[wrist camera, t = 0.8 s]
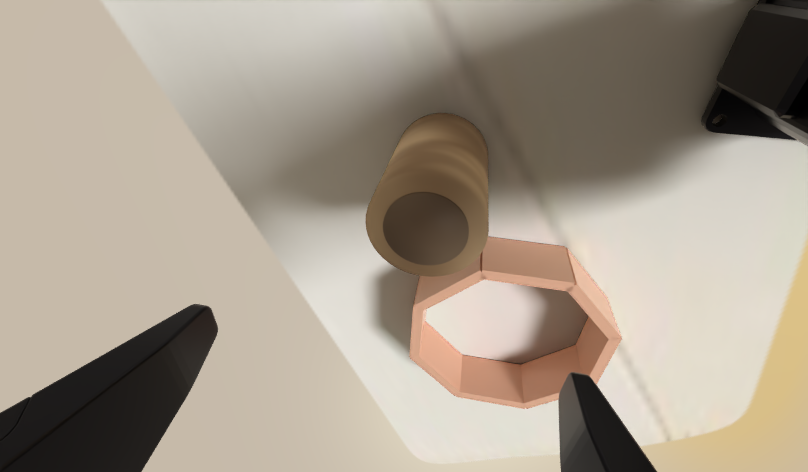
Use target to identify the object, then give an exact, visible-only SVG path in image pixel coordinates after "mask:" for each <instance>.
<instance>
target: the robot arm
mask: <svg viewBox="0 0 808 472" xmlns="http://www.w3.org/2000/svg"><path fill="white" fill-rule="evenodd" d="M717 83H718V86H717V88H716V90H715V92H714V94H713V96H712V98H711V100H710V102H709V104H708V106H707V108H706V110H705V112H704V114H703V116H702V120H701V122H702V125H703V126H704V127H705V128H706V129H707V130H708V131H711V132H715V133H726V134H737V135H748V136H759V137H769V138H780V139H791V140H798V141H800V142H802V143H803V144H805V145H807V146H808V0H759V2H758V4H757V5H756V6H755V7H754V8H753V9H751V10H750V11H749V13H748V15H747V17H746V19H745V21H744V23H743V25H742V27H741V30H740V32H739V34H738V36H737V38H736V40H735V42H734V44H733V46H732V48H731V50H730V52H729V54H728V56H727V58H726V60H725V62H724V65H723V67H722V69H721V71H720V73H719V75H718V77H717ZM718 115H722V119H721V120H720V121H719V122H717V123H712V122H713V119H714V118H715V117H716V116H718ZM217 332H218V327H217V323H216V321H215V318H214V315H213V313H212V310H211V308H210V307H208V306H204V305H199V304H193V305H191V306H189V307H187V308H185V309H183V310H181V311H180V312H178V313H176V314H174V315H173V316H171V317H169V318H168V319H166V320H164V321H162V322H161V323H159V324H157V325H155V326H153V327H151V328H150V329H148V330H146V331H144V332H143V333H141V334H139V335H138V336H136V337H134V338H132V339H130V340H129V341H127V342H125V343H123V344H121V345H120V346H118V347H117V348H115V349H113V350H111V351H109V352H108V353H106V354H104V355H102V356H101V357H99V358H97V359H95V360H93V361H92V362H90V363H88V364H86V365H84V366H83V367H81V368H79V369H77V370H76V371H74V372H72V373H70V374H68V375H67V376H65V377H63V378H61V379H60V380H58V381H56V382H54V383H53V384H51V385H49V386H47V387H46V388H44V389H42V390H40V391H39V392H37V393H35V394H33V395H32V397H28V398H26V399H24V400H22V401H21V402H19V403H17V404H15V405H14V406H12V407H10V408H8V409H6V410H5V411H3V412H1V413H0V472H141V471H142V470H143V468H144V466H145V464H146V463H147V462H148V460H149V458H150V456H151V455H152V453H153V452H154V450H155V448H156V447H157V445H158V443H159V442H160V440H161V438H162V437H163V435H164V433H165V432H166V430H167V428H168V427H169V425H170V423H171V422H172V420H173V418H174V417H175V415H176V414H177V412H178V410H179V408H180V407H181V405H182V404H183V402H184V400H185V399H186V397H187V395H188V393H189V392H190V390H191V388H192V386H193V384H194V382H195V380H196V378H197V376H198V374H199V372H200V369H201V367H202V365H203V363H204V361H205V359H206V357H207V355H208V353H209V351H210V348H211V347H212V344H213V342H214V340H215V338H216V336H217ZM559 434H560V463H561V472H657V471H656V470H655V468H654V467H653V465H652V464H651V462H650V461H649V459H648V458H647V457H646V455H645V454H644V452H643V451H642V450H641V448H640V447H639V445H638V444H637V442H636V441H635V439H634V438H633V437H632V435H631V434H630V432H629V431H628V429H627V428H626V427H625V425H624V424H623V422H622V421H621V419H620V418H619V417H618V415H617V414H616V412H615V411H614V409H613V408H612V407H611V405H610V404H609V402H608V401H607V399H606V398H605V397H604V395H603V394H602V392H601V391H600V389H599V388H598V387H597V385H596V384H595V382H594V381H593V379H592V378H591V377H590V376H588V375H586V374H582V373H576V372H571V373H569V374H568V376H567V378H566V380H565V382H564V384H563V386H562V388H561V390H560V393H559Z"/></svg>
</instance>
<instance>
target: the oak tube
mask: <svg viewBox="0 0 808 472" xmlns="http://www.w3.org/2000/svg"><path fill="white" fill-rule="evenodd" d="M366 229H367V233H368V236H369V239H370V241H371V243H372V245H373V247H374V248H375V249H376V251H377V252H378V253H379V254H380V255H381V256H382V257H383V258H384V259H385V260H386V261H387V262H389V263H390V264H392V265H393V266H395V267H397V268H399V269H400V270H403V271H405V272H408V273H411V274H415V275H420V276H429V277H433V276H444V275H449V274H452V273H455V272H458V271H460V270H462V269H464V268H466V267H467V266H469V265H470V264H471V263H473V262H474V261H475V260H476V259H477V258H478V257H479V255H480V254H481V252H482V251H483V249H484V247H485V245H486V242H487V238H488V150H487V146H486V143H485V140H484V138H483V136H482V134H481V133H480V132H479V130H478V129H477V128H476V127H475V126H474V125H473V124H472V123H470V122H469V121H467V120H466V119H464V118H462V117H460V116H457V115H453V114H448V113H436V114H430V115H427V116H424V117H422V118H420V119H418V120H416V121H415V122H414V123H412V124H411V125H410V126H409V127H408V128H407V129H406V131H405V132H404V133H403V135H402V137H401V139H400V141H399V143H398V145H397V147H396V149H395V151H394V153H393V155H392V157H391V160H390V162H389V164H388V166H387V168H386V170H385V172H384V174H383V176H382V178H381V180H380V182H379V184H378V186H377V189H376V191H375V193H374V195H373V197H372V199H371V201H370V203H369V206H368V208H367V213H366Z"/></svg>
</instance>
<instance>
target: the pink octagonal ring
mask: <svg viewBox="0 0 808 472" xmlns="http://www.w3.org/2000/svg"><path fill="white" fill-rule="evenodd" d="M482 280H491V281H498V282H505V283H512V284H519V285H526V286H533V287H540V288H547V289H554V290H561V291H568V292H569V294H570V295H571V296H572V297H573V298H574V299H575V301H576V302H577V303H578V304H579V305H580V306H581V308H582V309H583V310H584V311H585V312H586V313H587V315H588V319H587V321H586V323H585V325H584V327H583V330H582V332H581V334H580V336H579V338H578V340H577V343H576V345H574V346H571V347H568V348H565V349H563V350H560V351H557V352H554V353H552V354H549V355H546V356H543V357H540V358H538V359H535V360H532V361H529V362H527V363H524V364H521V365H520V364H514V363H508V362H502V361H496V360H490V359H484V358H477V357H471V356H465V355H462V354H461V353H460V352H459V351H457V350H456V349H455V348H454V347H453V346H452V345H451V344H450V343H449V342H448V341H446V340H445V339H444V338H443V337H442V336H441V335H440V334H439V333H438V332H437V331H435V330H434V329H433V328H432V327H431V326H430V325H429V324H428V323H427V322H426V321H425V317H426V309H428V308H430V307H431V306H433V305H435V304H437V303H439V302H441V301H443V300H445V299H447V298H449V297H451V296H453V295H455V294H457V293H459V292H461V291H463V290H464V289H466V288H468V287H470V286H472V285H474V284H476V283H478V282H480V281H482ZM621 339H622V338H621V334H620V331H619V329H618V326H617V323H616V320H615V317H614V315H613V312H612V309H611V306H610V303H609V301H608V298H607V296H606V295H605V294H604V293H603V292H602V290H601V289H600V288H599V287H598V285H597V284H596V283H595V282H594V280H593V279H592V278H591V277H590V275H589V274H588V273H587V272H586V271H585V269H584V268H583V267H582V266H581V264H580V263H579V262H578V261H577V259H576V258H575V257H574V256H573V254H572V253H571V252H570V251H569V250H568V248H565V247H564V246H556V245H548V244H540V243H533V242H525V241H517V240H510V239H502V238H494V237H488V238H487V242H486V245H485V247H484V249H483V251H482V252H481V254H480V255H479V257H478V258H477V259H476V260H475V261H474V262H473V263H471V264H470V265H469V266H467V267H466V268H464V269H462V270H460V271H458V272H455V273H452V274H449V275H444V276H433V277H429V276H420V277H419V281H418V286H417V291H416V295H415V300H414V305H413V315H412V328H411V342H410V356H409V357H410V359H412V360H413V361H414V362H415V363H416V364H417V365H419V366H420V367H421V368H422V369H423V370H425V371H426V372H427V373H428V374H429V375H430V376H432V377H433V378H434V379H435V380H436V381H438V382H439V383H440V384H441V385H442V386H443V387H445V388H446V389H447V390H448V391H449V392H451V393H452V394H453V395H454V396H456V397H461V398H467V399H472V400H478V401H483V402H489V403H494V404H500V405H506V406H511V407H517V408H522V409H525V408H526V409H528V408H531V407H535V406H538V405H541V404H545V403H548V402H552V401H555V400H558V399H559V393H560V390H561V388H562V386H563V384H564V382H565V380H566V378H567V376H568V374H569V373H571V372H576V373H582V374H586V375H588V376H590V377H591V378H592V379H593V381H594V382H595V384H597V383H598V381H599V379H600V377H601V375H602V374H603V372H604V370H605V368H606V366H607V365H608V363H609V361H610V359H611V357H612V356H613V354H614V352H615V350H616V348H617V347H618V345H619V343H620V341H621Z"/></svg>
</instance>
